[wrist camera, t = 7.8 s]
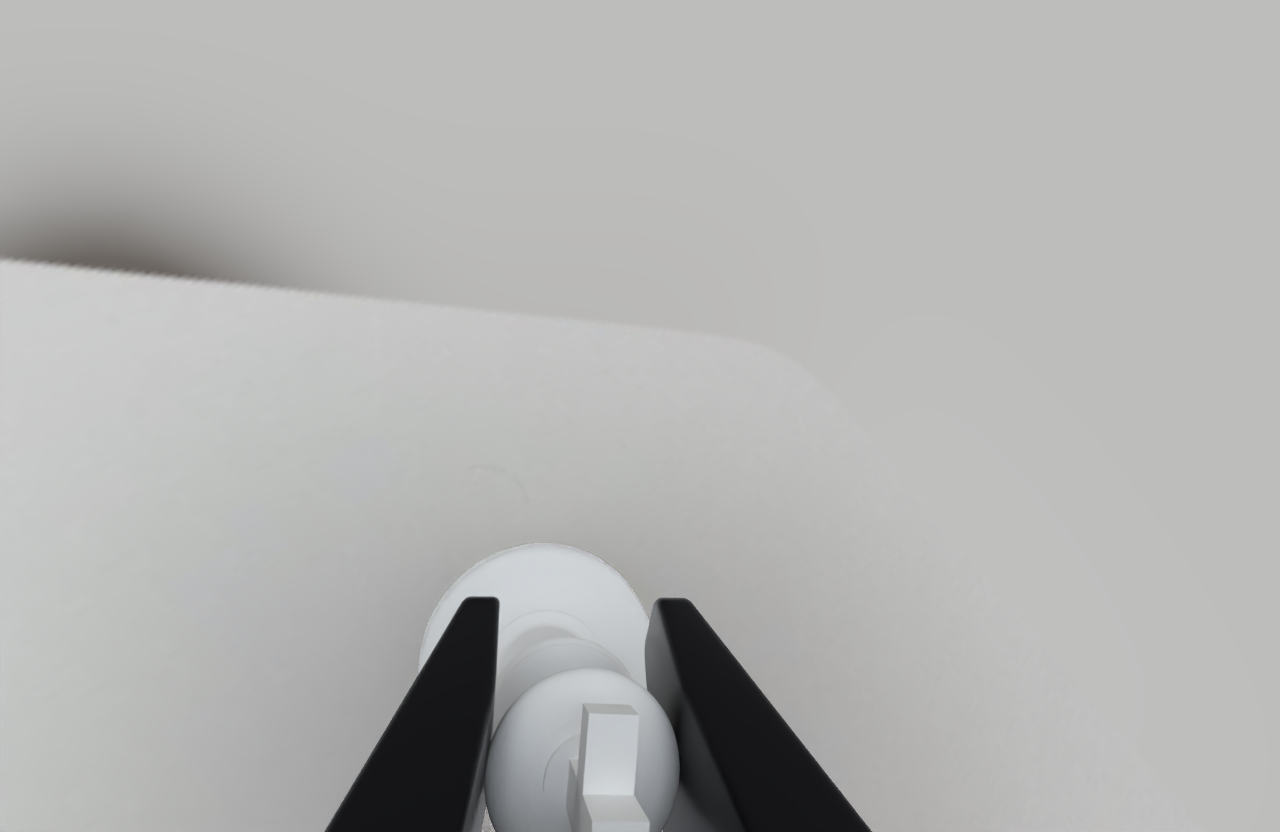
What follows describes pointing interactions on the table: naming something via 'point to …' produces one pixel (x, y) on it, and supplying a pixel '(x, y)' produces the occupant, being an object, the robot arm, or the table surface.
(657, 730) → the chess piece
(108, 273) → the table surface
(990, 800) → the table surface
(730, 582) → the table surface
